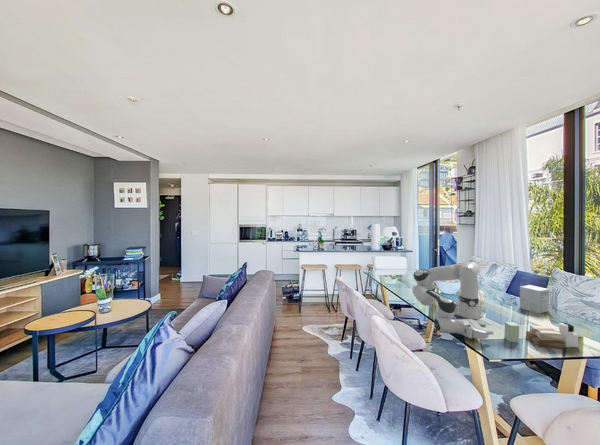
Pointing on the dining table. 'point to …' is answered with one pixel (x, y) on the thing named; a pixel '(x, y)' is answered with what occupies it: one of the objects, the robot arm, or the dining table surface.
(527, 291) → the supplement box
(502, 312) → the dining table surface
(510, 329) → the sage block
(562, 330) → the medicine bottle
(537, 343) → the tower base
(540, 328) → the tower top
